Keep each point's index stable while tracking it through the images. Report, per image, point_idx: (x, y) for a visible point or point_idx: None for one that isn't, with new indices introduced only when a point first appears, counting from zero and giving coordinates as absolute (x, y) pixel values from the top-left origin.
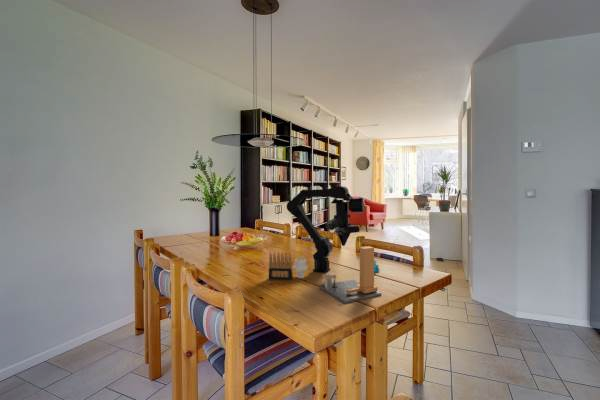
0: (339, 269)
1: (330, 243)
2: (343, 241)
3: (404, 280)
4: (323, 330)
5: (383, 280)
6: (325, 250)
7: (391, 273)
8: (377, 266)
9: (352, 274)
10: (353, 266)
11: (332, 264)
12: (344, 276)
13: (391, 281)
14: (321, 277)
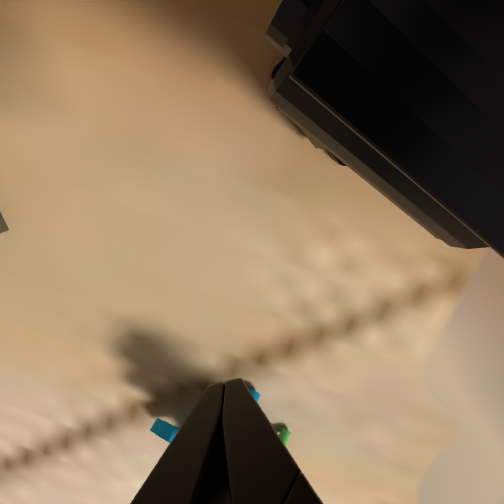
0: (324, 242)
1: (489, 215)
2: (167, 469)
3: (19, 497)
4: None
5: (26, 410)
6: (274, 20)
7: None
8: None
9: (179, 286)
10: (357, 358)
11: None
12: (143, 215)
13: (5, 438)
14: (151, 6)
